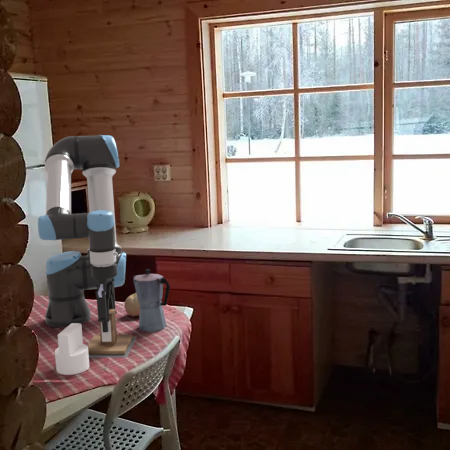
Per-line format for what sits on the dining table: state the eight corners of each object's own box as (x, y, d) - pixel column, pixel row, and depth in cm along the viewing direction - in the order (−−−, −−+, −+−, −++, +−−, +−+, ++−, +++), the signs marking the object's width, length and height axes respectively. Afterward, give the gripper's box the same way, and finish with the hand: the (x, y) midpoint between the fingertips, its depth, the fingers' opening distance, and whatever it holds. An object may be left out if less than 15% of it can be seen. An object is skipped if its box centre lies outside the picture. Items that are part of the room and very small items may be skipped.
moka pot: (144, 319, 201) (141, 263, 197) (181, 327, 193) (179, 268, 189) (126, 329, 193) (122, 270, 189) (164, 337, 185) (161, 276, 181)
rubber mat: (93, 338, 186) (93, 337, 185) (137, 338, 185) (137, 336, 185) (79, 359, 171) (79, 357, 171) (127, 359, 170) (127, 357, 170)
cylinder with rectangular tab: (81, 377, 159) (77, 336, 157) (50, 375, 161) (46, 334, 159) (94, 363, 168) (91, 324, 166) (65, 361, 170) (62, 322, 167)
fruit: (127, 311, 209) (126, 290, 208) (150, 311, 209) (148, 289, 207) (123, 319, 201) (121, 297, 200) (146, 319, 201) (145, 297, 199)
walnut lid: (94, 337, 184) (92, 304, 182) (132, 337, 184) (130, 304, 181) (84, 354, 172) (81, 318, 170) (124, 354, 172) (122, 318, 169)
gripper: (109, 271, 164) (114, 349, 169) (122, 255, 181) (126, 327, 186) (82, 272, 164) (89, 350, 169) (98, 255, 181) (103, 327, 186)
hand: (108, 337), depth 177 cm, fingers closed on walnut lid, 4 cm apart
